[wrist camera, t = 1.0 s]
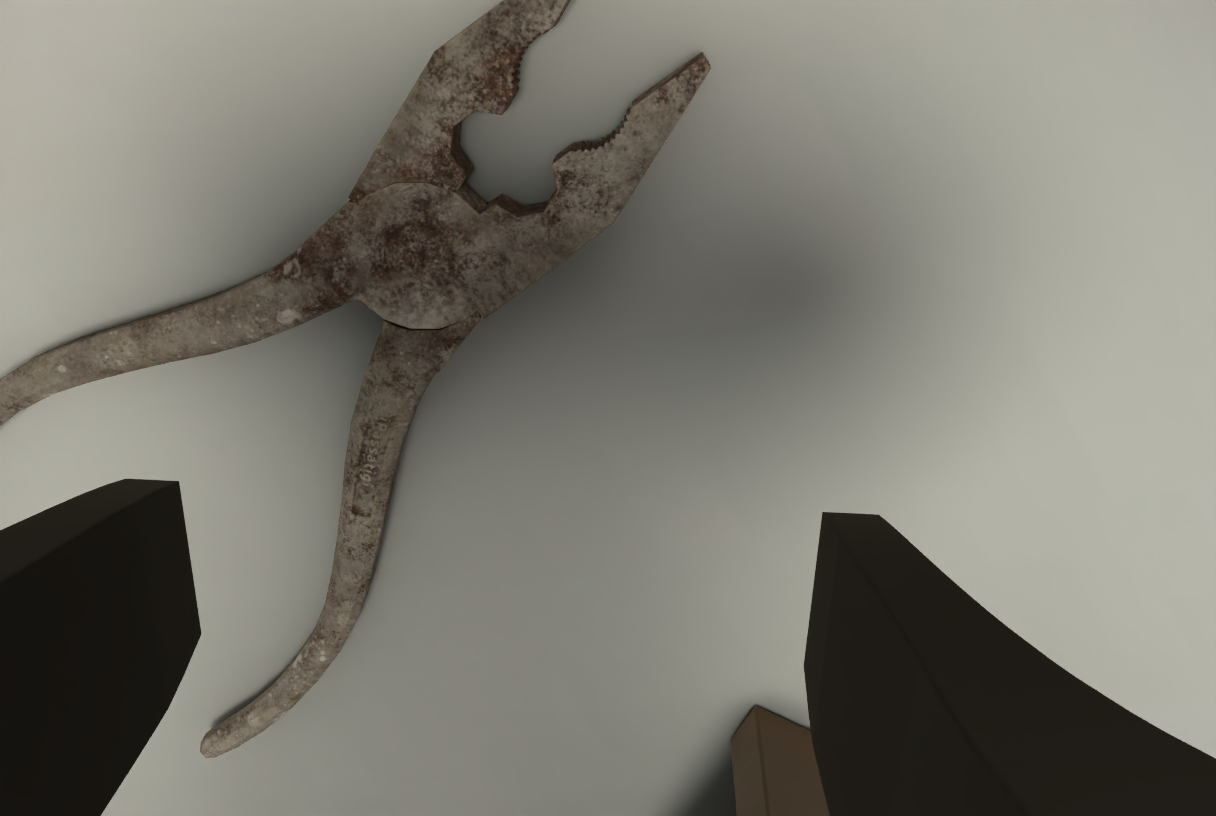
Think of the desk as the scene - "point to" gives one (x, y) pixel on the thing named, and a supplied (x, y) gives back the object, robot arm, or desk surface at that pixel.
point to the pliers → (395, 288)
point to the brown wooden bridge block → (775, 768)
